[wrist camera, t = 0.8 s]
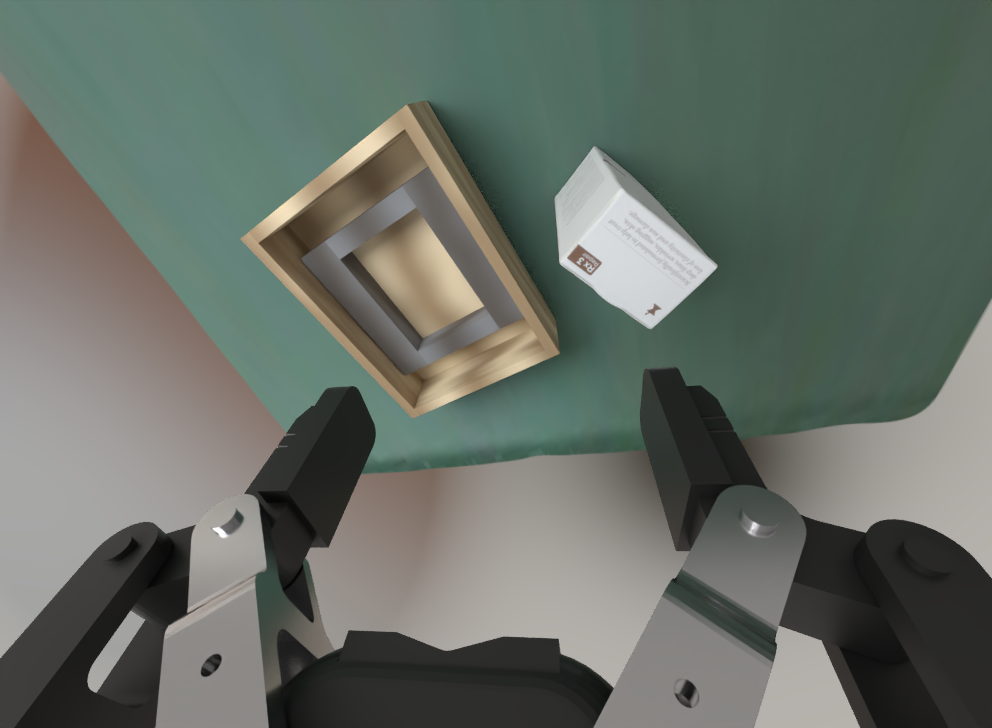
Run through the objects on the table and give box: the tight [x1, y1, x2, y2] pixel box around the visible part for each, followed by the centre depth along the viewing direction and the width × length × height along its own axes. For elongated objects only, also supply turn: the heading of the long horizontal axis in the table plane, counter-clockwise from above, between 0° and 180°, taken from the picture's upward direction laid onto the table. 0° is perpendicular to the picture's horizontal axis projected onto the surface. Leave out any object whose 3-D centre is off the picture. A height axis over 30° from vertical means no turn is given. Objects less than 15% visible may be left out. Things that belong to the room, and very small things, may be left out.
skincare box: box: [555, 146, 717, 329], centre depth 22 cm, size 6×4×12 cm
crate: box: [241, 101, 560, 418], centre depth 29 cm, size 14×18×5 cm
